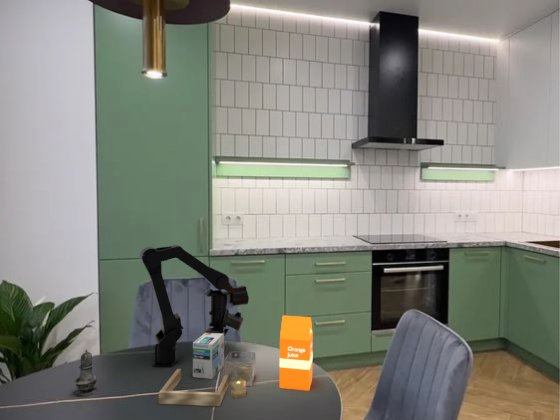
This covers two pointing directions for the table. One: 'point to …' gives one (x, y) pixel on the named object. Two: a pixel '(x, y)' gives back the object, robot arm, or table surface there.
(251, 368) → the grey cube with knob
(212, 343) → the light bulb box
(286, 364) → the orange juice
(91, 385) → the grey chess piece
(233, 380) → the olive rounded piece
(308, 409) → the table surface
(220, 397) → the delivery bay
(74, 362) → the table surface
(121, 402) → the table surface
